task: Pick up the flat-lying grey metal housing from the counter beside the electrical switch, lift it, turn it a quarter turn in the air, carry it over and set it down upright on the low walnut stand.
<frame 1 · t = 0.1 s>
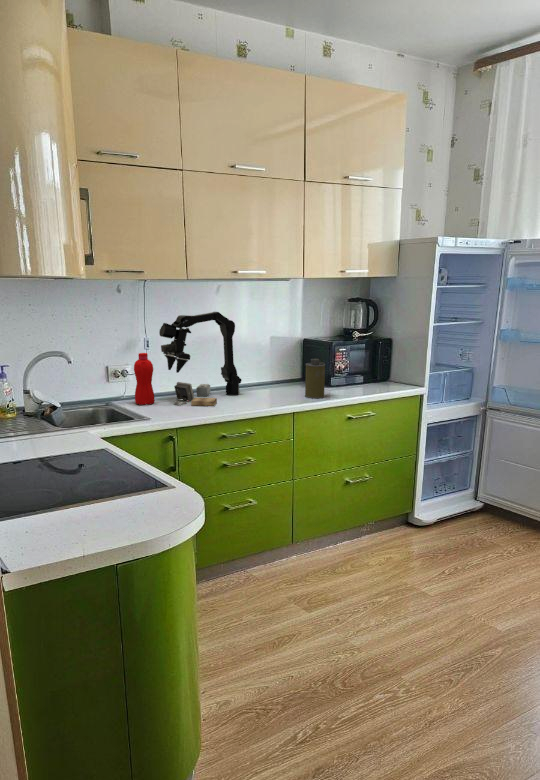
hand: (173, 371, 273), 15 cm above the table, tool pointing down, fingers open, 9 cm apart
stand: (204, 404, 270), on the table
water bottle: (144, 403, 273), on the table
housing: (203, 395, 292), on the table
electrical switch: (184, 400, 280), on the table
bolt a: (182, 403, 271), on the table
canister: (314, 396, 291), on the table
bolt b: (178, 405, 268), on the table
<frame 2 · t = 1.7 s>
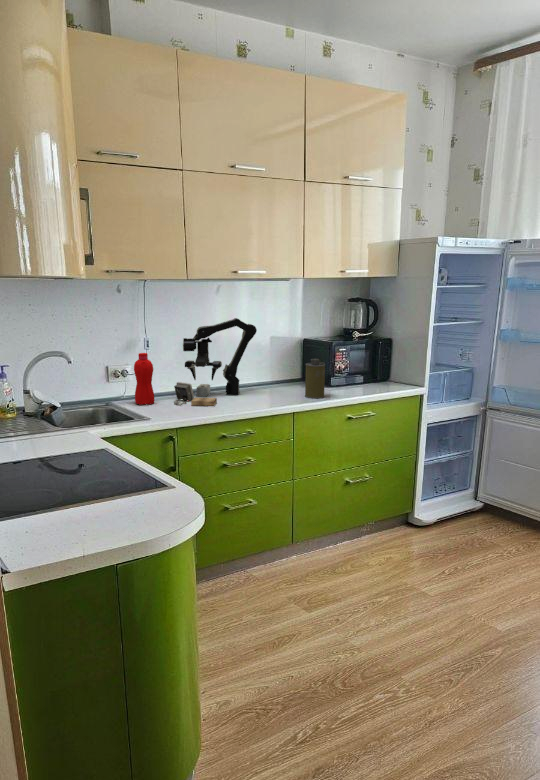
hand: (203, 380, 291), 8 cm above the table, tool pointing down, fingers open, 9 cm apart
nothing on the table moved.
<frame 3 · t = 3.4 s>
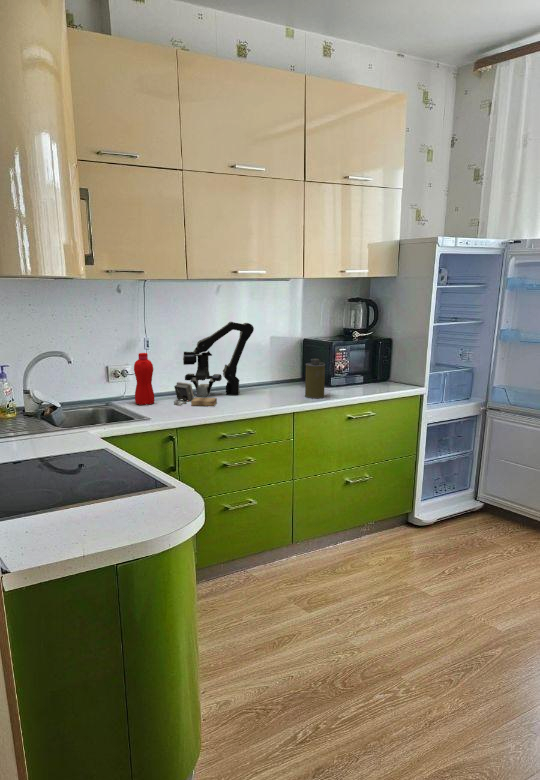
hand: (203, 393, 292), 1 cm above the table, tool pointing down, fingers closed on housing, 5 cm apart
housing: (203, 395, 292), on the table, touching gripper
everything else where it was.
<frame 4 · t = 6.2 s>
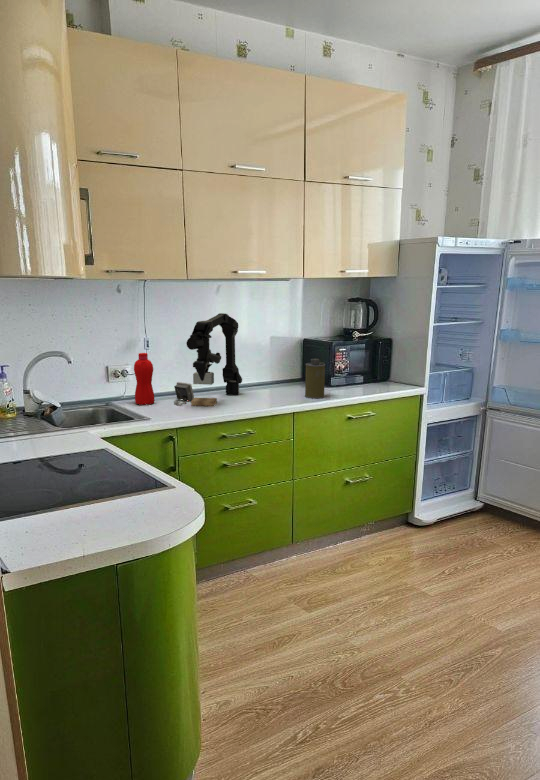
hand: (203, 379, 268), 12 cm above the table, tool pointing down, fingers closed on housing, 5 cm apart
housing: (203, 383, 269), point 10 cm above the table, touching gripper
everything else where it was.
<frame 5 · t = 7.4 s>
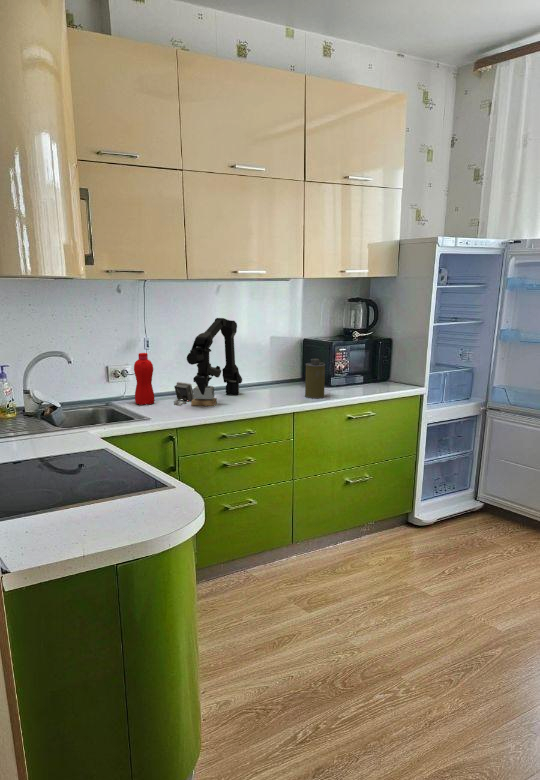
hand: (204, 393, 269), 6 cm above the table, tool pointing down, fingers closed on housing, 5 cm apart
housing: (204, 397, 270), point 3 cm above the table, touching gripper
everything else where it was.
when the fingers open (5 cm above the table, at t = 8.4 s): housing stays where it is, resting on stand.
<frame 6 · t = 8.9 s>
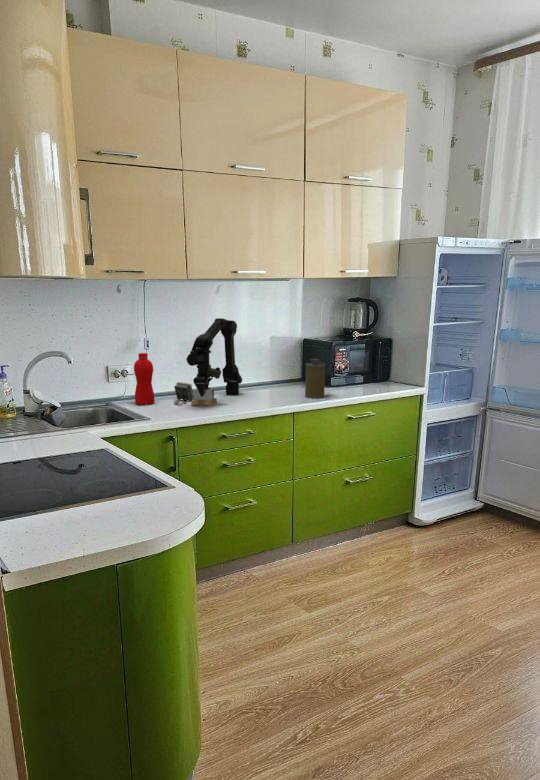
hand: (204, 394, 269), 5 cm above the table, tool pointing down, fingers open, 9 cm apart
housing: (204, 399, 270), point 2 cm above the table, touching stand
everything else where it was.
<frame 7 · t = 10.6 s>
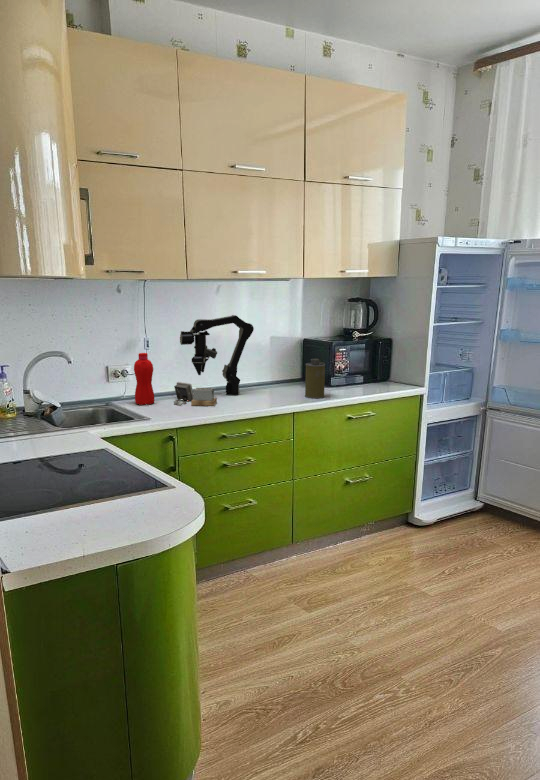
hand: (201, 373, 288), 12 cm above the table, tool pointing down, fingers open, 9 cm apart
nothing on the table moved.
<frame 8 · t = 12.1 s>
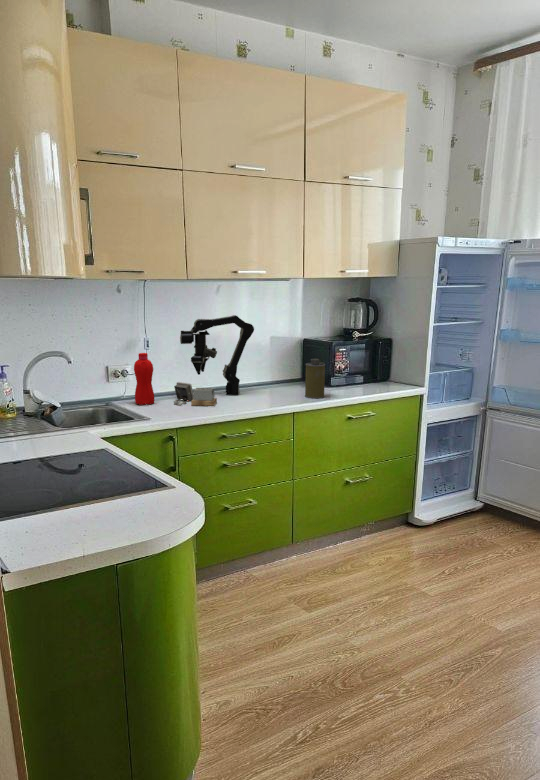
hand: (200, 373, 289), 12 cm above the table, tool pointing down, fingers open, 9 cm apart
nothing on the table moved.
at the end: housing inside the target area on the stand (0.1 cm from its centre), point 2.5 cm above the stand's base; housing tilted 0°; the gripper is holding nothing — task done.
